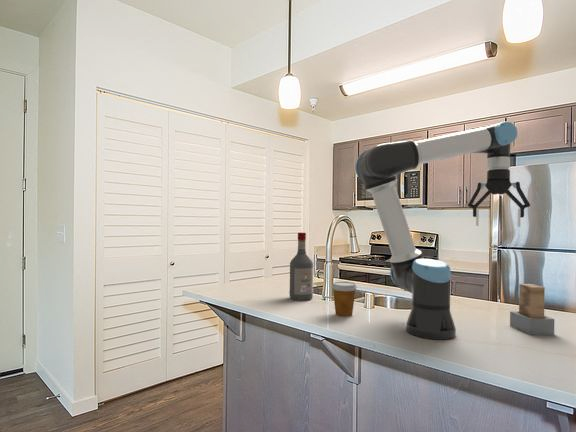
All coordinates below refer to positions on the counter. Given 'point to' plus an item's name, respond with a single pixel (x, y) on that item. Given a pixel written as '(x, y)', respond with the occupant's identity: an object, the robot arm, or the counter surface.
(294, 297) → the liquor
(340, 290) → the disposable coffee cup
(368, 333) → the counter surface
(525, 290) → the tan tall block
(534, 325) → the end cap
